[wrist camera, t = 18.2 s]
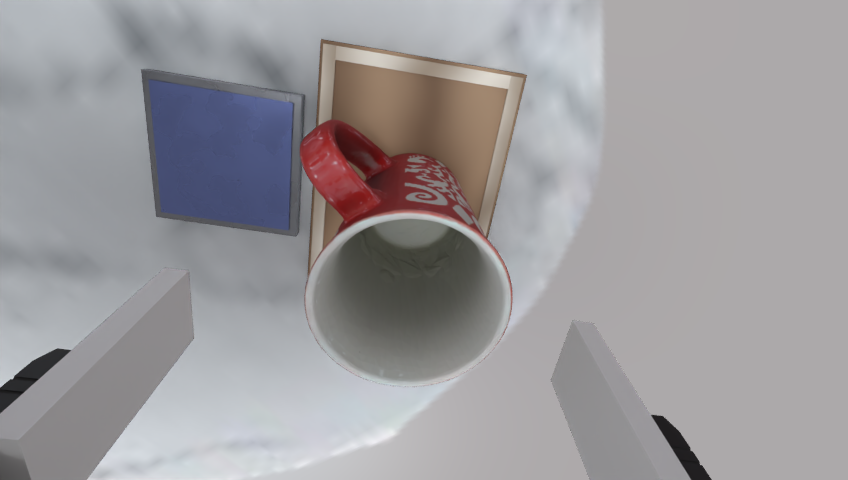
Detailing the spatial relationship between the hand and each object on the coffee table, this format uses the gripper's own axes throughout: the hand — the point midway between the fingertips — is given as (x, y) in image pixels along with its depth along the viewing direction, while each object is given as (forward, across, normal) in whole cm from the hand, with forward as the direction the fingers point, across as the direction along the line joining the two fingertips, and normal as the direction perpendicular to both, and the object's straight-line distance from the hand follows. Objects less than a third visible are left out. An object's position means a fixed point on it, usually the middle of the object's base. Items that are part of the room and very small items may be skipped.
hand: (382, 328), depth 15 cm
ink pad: (+18, -12, 0) cm, 21 cm away
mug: (+17, 0, 0) cm, 17 cm away
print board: (+17, 0, 0) cm, 17 cm away
